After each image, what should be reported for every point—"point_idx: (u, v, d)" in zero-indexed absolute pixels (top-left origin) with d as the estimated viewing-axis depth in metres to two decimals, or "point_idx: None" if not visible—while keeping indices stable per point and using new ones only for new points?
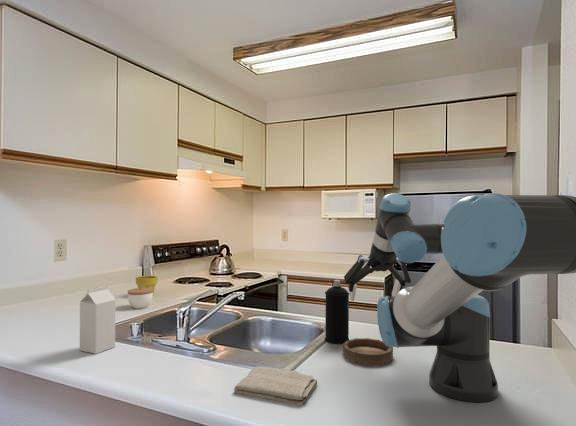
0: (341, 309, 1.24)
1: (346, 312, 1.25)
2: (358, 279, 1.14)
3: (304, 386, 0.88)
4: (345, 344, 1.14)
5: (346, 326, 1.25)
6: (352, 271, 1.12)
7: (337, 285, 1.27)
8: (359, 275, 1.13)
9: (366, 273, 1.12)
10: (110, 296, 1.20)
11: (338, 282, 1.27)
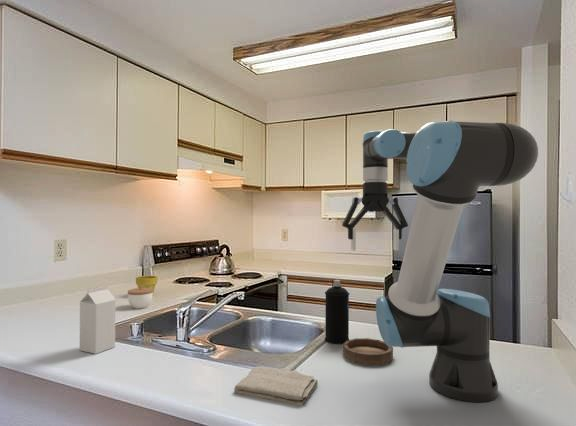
0: (341, 309, 1.24)
1: (346, 312, 1.25)
2: (356, 221, 1.17)
3: (304, 386, 0.88)
4: (345, 344, 1.14)
5: (346, 326, 1.25)
6: (348, 213, 1.18)
7: (337, 285, 1.27)
8: (356, 217, 1.18)
9: (362, 213, 1.17)
10: (110, 296, 1.20)
11: (338, 282, 1.27)
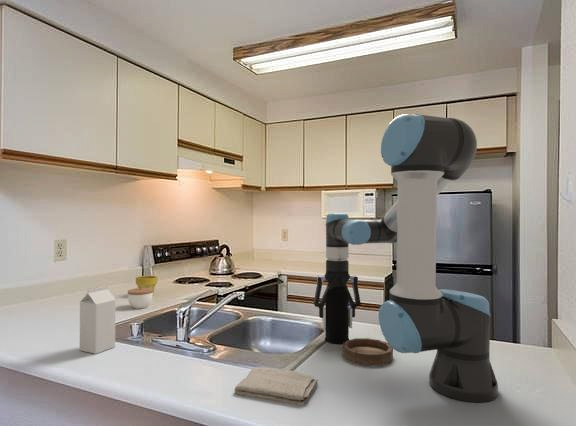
0: (341, 309, 1.24)
1: (346, 312, 1.25)
2: (324, 300, 1.26)
3: (305, 386, 0.88)
4: (345, 344, 1.14)
5: (346, 326, 1.25)
6: (316, 292, 1.26)
7: None
8: (323, 296, 1.26)
9: (328, 291, 1.26)
10: (110, 296, 1.20)
11: None
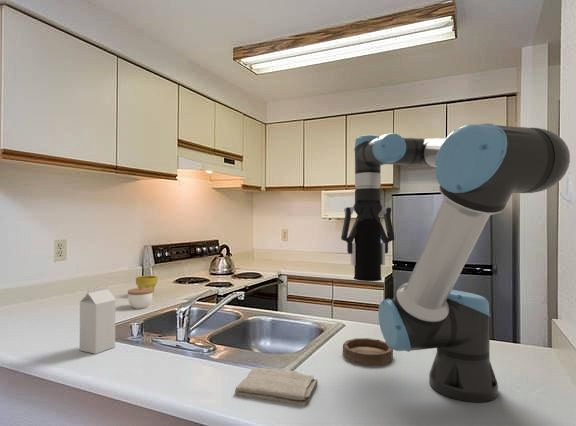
0: (373, 242, 1.10)
1: (379, 246, 1.11)
2: (354, 233, 1.12)
3: (305, 386, 0.88)
4: (345, 344, 1.14)
5: (379, 262, 1.11)
6: (344, 225, 1.12)
7: None
8: (353, 229, 1.12)
9: (358, 223, 1.12)
10: (110, 296, 1.20)
11: None
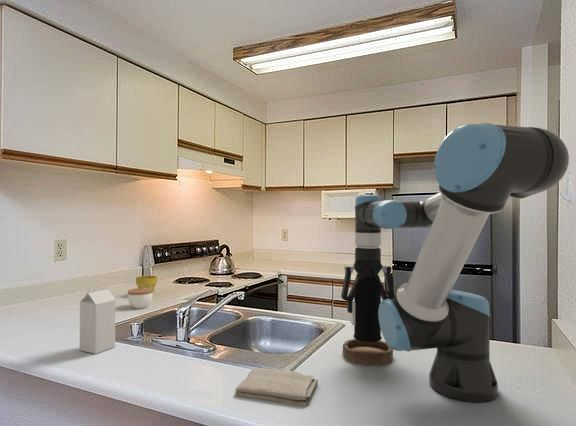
0: (373, 302, 1.09)
1: (378, 306, 1.11)
2: (354, 293, 1.12)
3: (306, 386, 0.88)
4: (345, 344, 1.14)
5: (378, 322, 1.11)
6: (344, 284, 1.12)
7: None
8: (353, 288, 1.12)
9: None
10: (110, 296, 1.20)
11: None
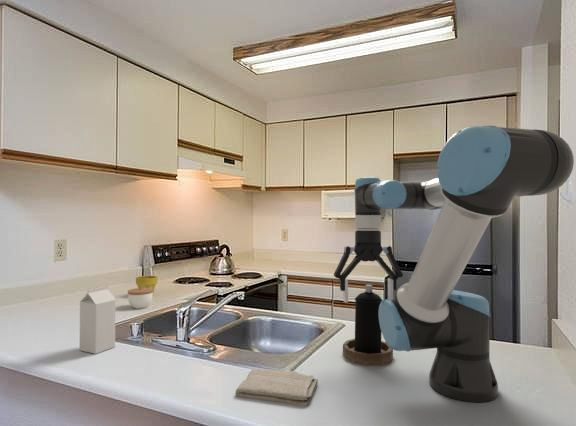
0: (374, 318, 1.09)
1: None
2: (348, 272, 1.11)
3: (307, 386, 0.88)
4: (345, 344, 1.14)
5: (379, 337, 1.10)
6: (340, 262, 1.12)
7: (369, 291, 1.12)
8: (348, 267, 1.12)
9: (355, 263, 1.11)
10: (110, 296, 1.20)
11: (370, 287, 1.12)
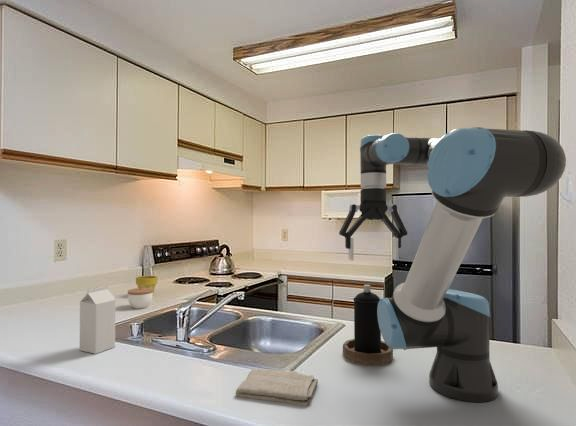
0: (373, 318, 1.09)
1: None
2: (354, 230, 1.11)
3: (307, 386, 0.88)
4: (345, 344, 1.14)
5: (379, 337, 1.10)
6: (346, 220, 1.12)
7: (367, 291, 1.12)
8: (354, 225, 1.12)
9: (360, 221, 1.12)
10: (110, 296, 1.20)
11: (368, 287, 1.12)
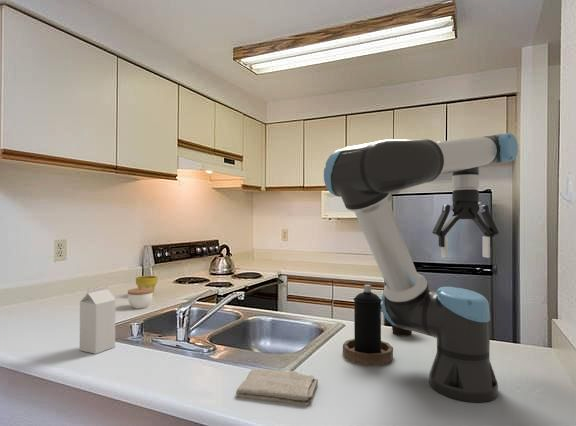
0: (373, 318, 1.09)
1: (379, 321, 1.10)
2: (448, 229, 1.17)
3: (307, 386, 0.88)
4: (345, 344, 1.14)
5: (379, 337, 1.10)
6: (440, 220, 1.18)
7: (368, 291, 1.12)
8: (447, 225, 1.18)
9: (454, 221, 1.17)
10: (110, 296, 1.20)
11: (369, 287, 1.12)
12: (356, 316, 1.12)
